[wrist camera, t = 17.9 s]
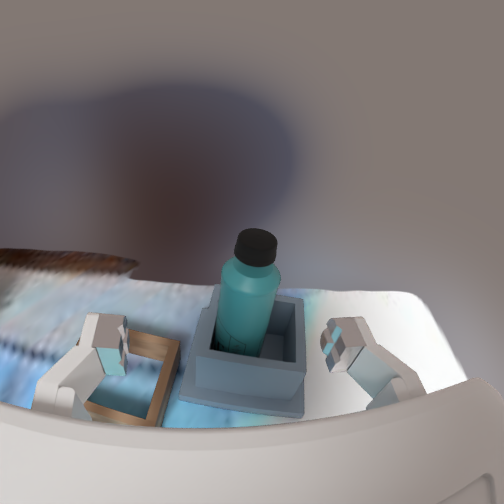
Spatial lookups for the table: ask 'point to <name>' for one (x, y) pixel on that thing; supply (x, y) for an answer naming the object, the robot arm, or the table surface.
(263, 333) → the beverage bottle
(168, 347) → the walnut sleeve
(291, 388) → the bottle holder
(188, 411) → the table surface
